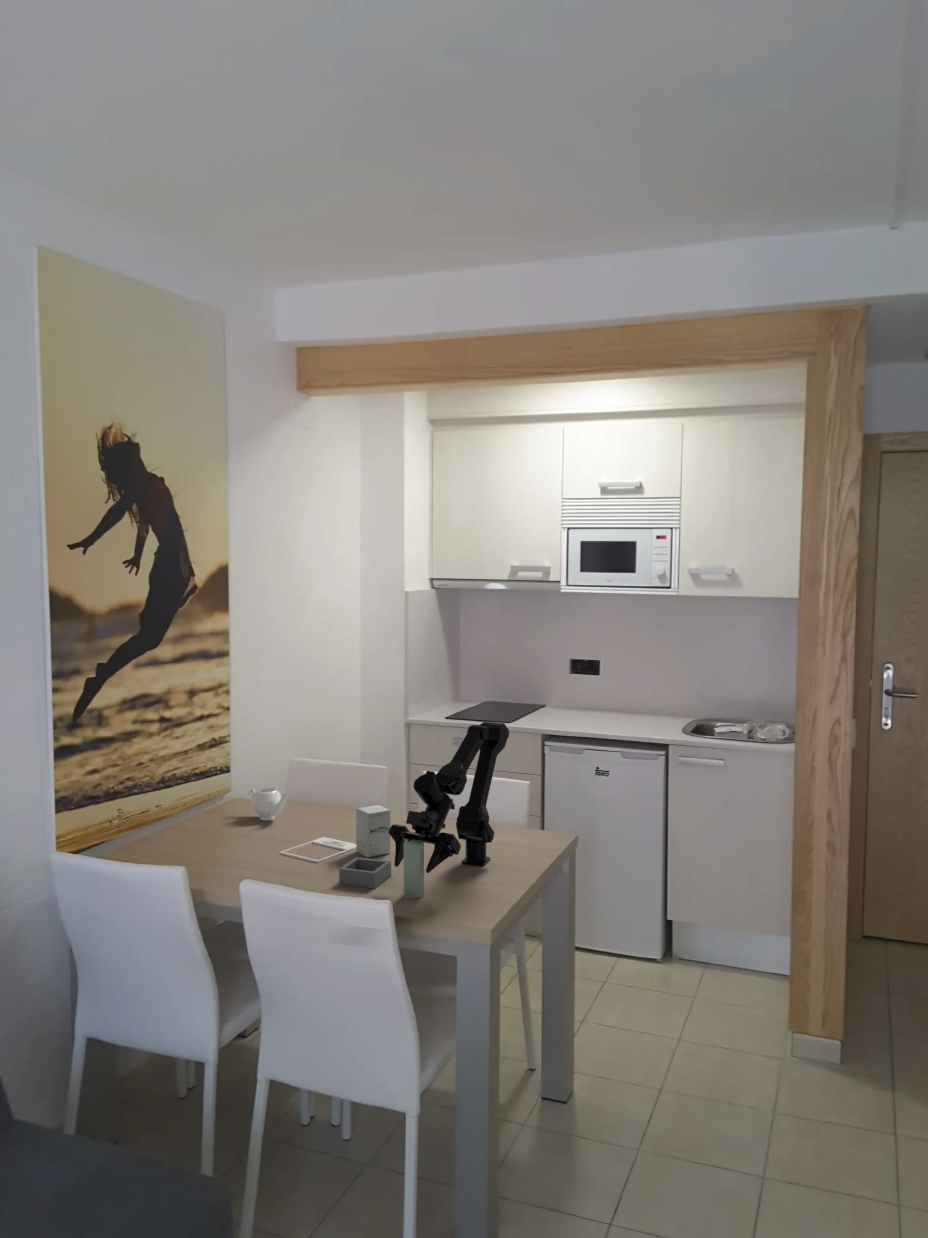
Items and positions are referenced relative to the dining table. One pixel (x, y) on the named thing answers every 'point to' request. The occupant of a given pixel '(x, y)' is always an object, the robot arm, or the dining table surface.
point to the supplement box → (372, 830)
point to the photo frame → (324, 842)
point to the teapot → (267, 802)
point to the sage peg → (413, 869)
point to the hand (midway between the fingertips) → (411, 869)
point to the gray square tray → (365, 872)
